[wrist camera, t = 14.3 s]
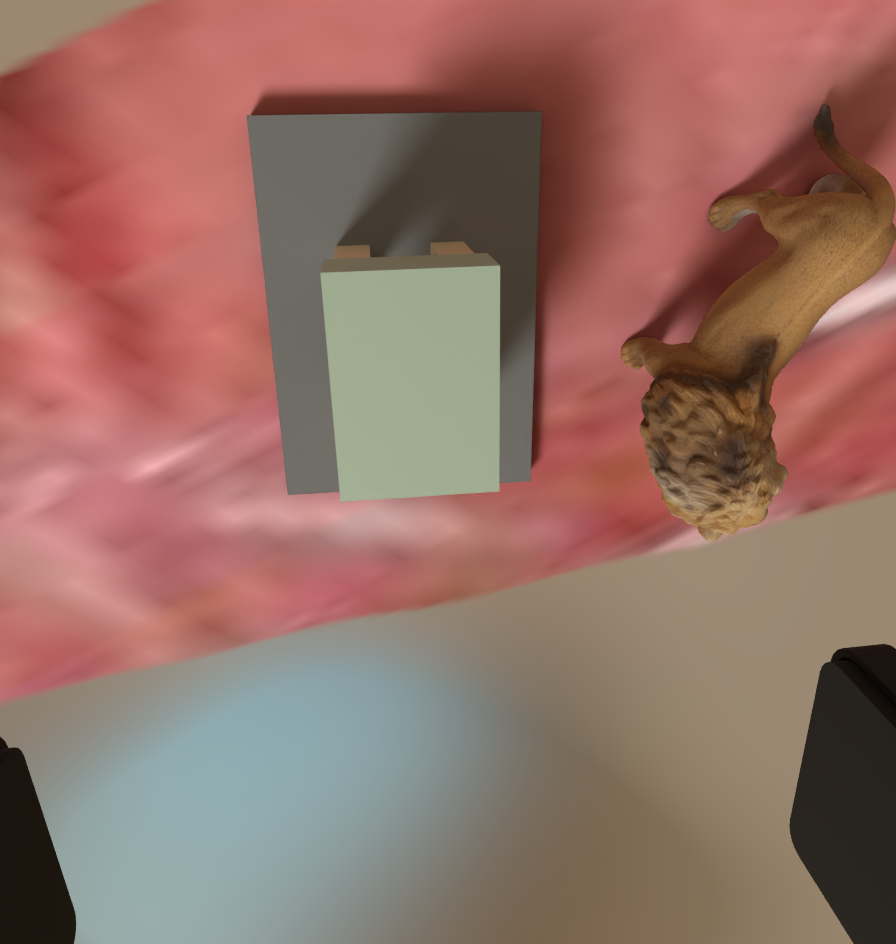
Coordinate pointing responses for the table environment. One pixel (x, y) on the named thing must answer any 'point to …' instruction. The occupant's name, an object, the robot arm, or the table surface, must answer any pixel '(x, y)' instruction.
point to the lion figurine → (757, 342)
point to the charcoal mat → (392, 246)
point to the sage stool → (414, 371)
